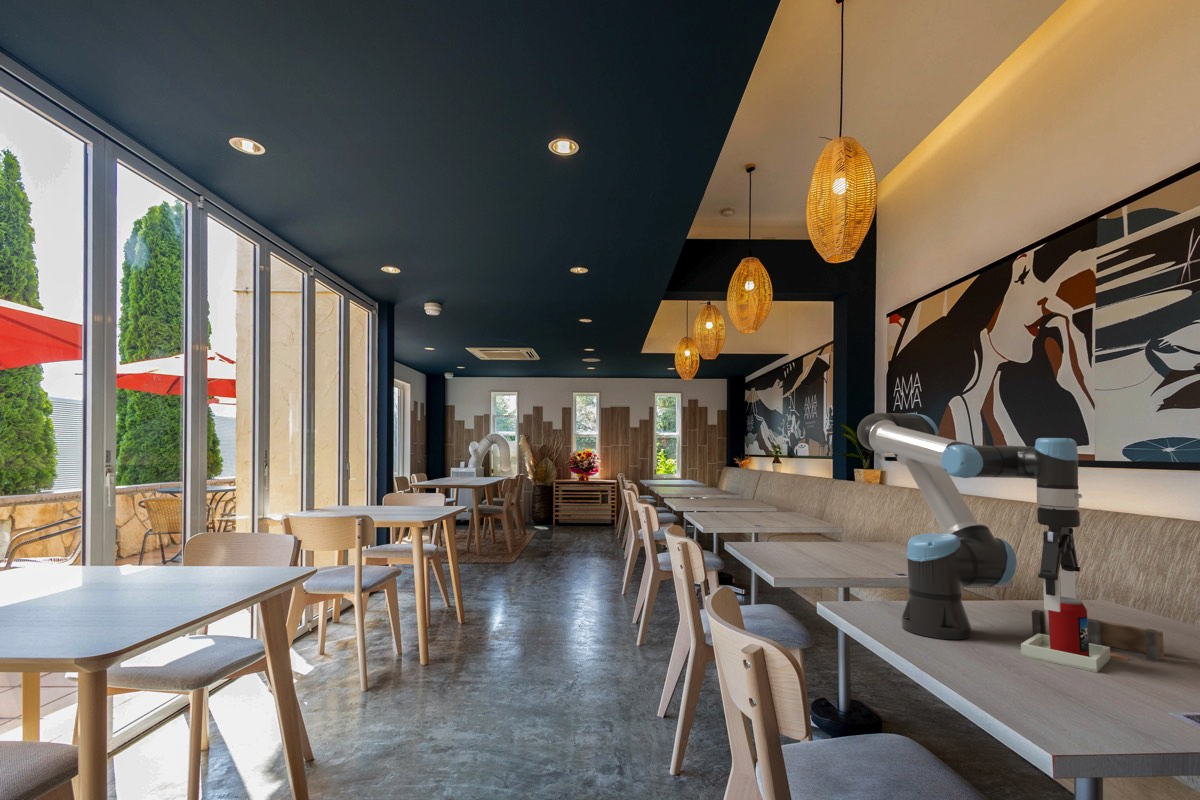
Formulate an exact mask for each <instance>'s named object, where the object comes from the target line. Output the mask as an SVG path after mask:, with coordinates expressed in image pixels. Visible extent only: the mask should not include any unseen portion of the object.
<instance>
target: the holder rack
mask: <svg viewBox="0 0 1200 800" xmlns="http://www.w3.org/2000/svg"><path fill="white" fill-rule="evenodd" d="M1087 619H1088V637H1089V643H1091V644H1096V645H1101V646H1106V647H1110V648H1112V647H1113V648H1117V649H1123V650H1128V651H1132V652H1138V653H1143V654H1146V660H1148V661H1152V662H1157V661H1158V660H1159V657H1164V656H1165V646H1164V644H1165V643H1164V631H1162V630H1157V629H1152V628H1145V627H1140V626H1132V625H1128V624H1127V625H1126V624H1121V623H1115V622H1110V621H1104V620H1099V619H1093V618H1088V617H1087ZM1031 624H1032V637H1033V636H1034V635H1036V634H1038V633H1039V634H1044V635H1045V615H1044V610H1040V609H1034V610H1032V611H1031ZM1110 658H1111V659H1112V658H1114V659H1118V660H1123V661H1129V656H1124V655H1119V654H1115V653H1110Z"/></svg>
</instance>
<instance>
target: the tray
mask: <svg viewBox="0 0 1200 800" xmlns="http://www.w3.org/2000/svg"><path fill="white" fill-rule="evenodd" d="M1110 654H1111V646H1106V645H1096V644H1091V643H1089V657H1087V656H1082V655H1077V654H1072V653H1067V652H1062V651H1058V650H1053V649H1050V637H1049V635H1045V634H1039V633H1038V634H1036V635H1034V636H1033V635H1032V636H1031V637H1030V638H1028V639H1026V640H1025V641H1024V642H1022V643H1020V655H1021V657H1025V658H1029V659H1034V660H1039V661H1043V662H1047V663H1052V664H1055V665H1061V666H1065V667H1069V668H1075V669H1080V670H1084V671H1088V672H1093V673H1098V672H1099V671H1100V670H1101V669H1102V668H1103V667H1104V666H1105V665H1106V664H1108V663H1109V661H1111V659H1112V657H1110Z"/></svg>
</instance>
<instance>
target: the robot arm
mask: <svg viewBox="0 0 1200 800" xmlns="http://www.w3.org/2000/svg"><path fill="white" fill-rule="evenodd" d="M856 430H857V431H856V435H857V439H858V441H859V443H860V444H861V446H863V448H865V449H867V450H870V451H872V452H876V453H878V454H888V453H892V454H893V455H894V457H895V459H896V460H897V462H898V463H899V464H901V465H905V466H906V468H907V470H908V471H909V473H910V474H911V476H912V478H913V480H914V482H915V484H916V486H917V488H918V489H919V491H920V493H921V495H922V497H923V498H924V501H925V502H926V504H927V505H928V507H929V509H930V511H931V513H932V515H933V516H934V518H935V520H936V521H937V524H938V526H939V528H940V529H941V531H942V532H941V533H940V532H937V533H931V532H930V533H922V534H916V535H914V536H911V537H910V538H909V540H908V542H907V551H906V558H907V580H908V581H907V582H908V597H907V601H906V604H905V607H904V609H903V613H902V615H901V627H902V629H903V630H905V631H907V632H909V633H912V634H915V635H919V636H922V637H928V638H932V639H940V640H941V639H942V640H944V639H945V640H966V639H969V638H971V637H972V626H971V623H970V620H969V617H968V615H967V612H966V609H965V606H964V605H963V599H962V596H963V595H962V588H965V587H966V588H968V587H995V586H1001V585H1005V584H1007V583H1009V582H1010V581H1011V580H1012V579H1013V578H1014V575H1015V574H1016V571H1017V570H1016V567H1017V566H1018V565H1017V564H1018V560H1017V555H1016V552H1015V550H1014V548H1013V547H1012V545H1011V544H1010V542H1008V541H1007V540H1004V539H1002V538H1000V537H995V536H994V535H993V533H992V531H991V530H990V528H989V527H988V525H986V524H983V523H980V522H978V520H977V519H976V517H975V516H974V514H973V512H972V511H971V509H970V508H969V506H968V503H967V502H966V501H965V498H964V497H963V496H962V494H961V493H960V491H959V489H958V487H957V485H956V484H955V483H954V481H953V479H952V477H954V478H955V477H956V478H963V479H969V478H996V479H997V478H1004V479H1006V478H1008V479H1010V478H1011V479H1012V478H1013V479H1031V480H1032V479H1034V480H1036V504H1037V505H1038V506H1039V507H1037V508H1036V514H1037V516H1036V517H1037V518H1036V519H1037V523H1038V524H1039V525H1042V526H1048V530H1045V531H1043V533H1042V535H1043V538H1042V539H1043V541H1042V543H1043V544H1042V550H1041V551H1042V553H1041V561H1040V563H1041V564H1040V570H1039V571H1040V572H1039V573H1037V574H1038V575H1037V576H1038V578H1039V579H1042V580H1043V581H1042V583H1043V586H1042V587H1043V591H1044V597H1043V610H1044V609H1046V610H1051V611H1056V612H1060V591H1061V597H1068V598H1074V599H1076V595H1077V577H1076V576H1077V574H1076V573H1078V572H1079V573H1080V571H1081V567H1080V566H1079V564H1078V557H1077V551H1076V545H1075V538H1074V528H1078V527H1080V525H1081V519H1080V518H1081V516H1080V515H1081V514H1080V511H1079V510H1078V509H1076V508H1078V507H1080V499H1082V498H1083V495H1082V493H1079V460H1080V458H1079V455H1078V454H1079V453H1078V445H1077V442H1076V440H1075V439H1073V438H1070V437H1069V438H1067V437H1062V438H1061V437H1039V438H1037V439H1035V445H1033V446H1025V445H1023V446H1022V445H980V444H978V445H976V444H971V443H967V442H962V441H958V440H955V439H950V438H946V437H942V436H938V434H940V433H939V429H938V427H937V425H936V423H935V422H934V421H933V420H932V418H930V417H929V416H927V415H925V414H918V413H915V412H909V413H908V412H907V413H892V412H874V413H871V414H868V415H867V416H865V417H863V418H862V420H860V422H859V424H858V426H857V429H856ZM1060 567H1061V568H1060ZM1059 573H1060V574H1059ZM1059 577H1060V578H1059Z"/></svg>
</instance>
